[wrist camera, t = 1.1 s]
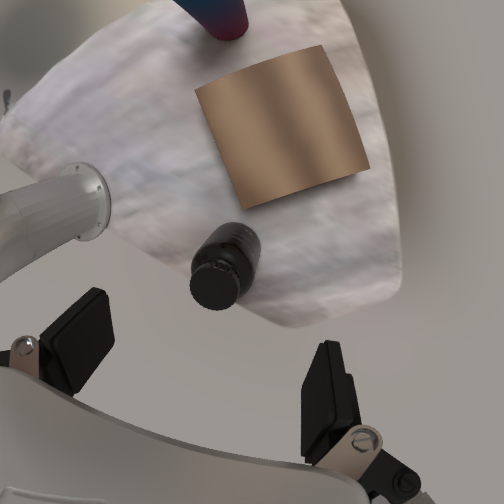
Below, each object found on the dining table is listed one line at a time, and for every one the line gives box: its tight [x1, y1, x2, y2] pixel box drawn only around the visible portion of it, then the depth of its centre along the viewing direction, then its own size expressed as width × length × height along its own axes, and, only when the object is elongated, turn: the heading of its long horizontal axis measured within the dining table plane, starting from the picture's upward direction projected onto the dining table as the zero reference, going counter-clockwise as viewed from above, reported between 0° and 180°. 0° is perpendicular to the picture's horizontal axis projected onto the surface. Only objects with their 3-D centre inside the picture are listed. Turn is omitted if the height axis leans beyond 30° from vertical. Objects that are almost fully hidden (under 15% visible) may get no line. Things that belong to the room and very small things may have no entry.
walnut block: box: [195, 45, 370, 210], centre depth 28 cm, size 14×14×6 cm
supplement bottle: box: [190, 222, 261, 311], centre depth 31 cm, size 7×7×12 cm
